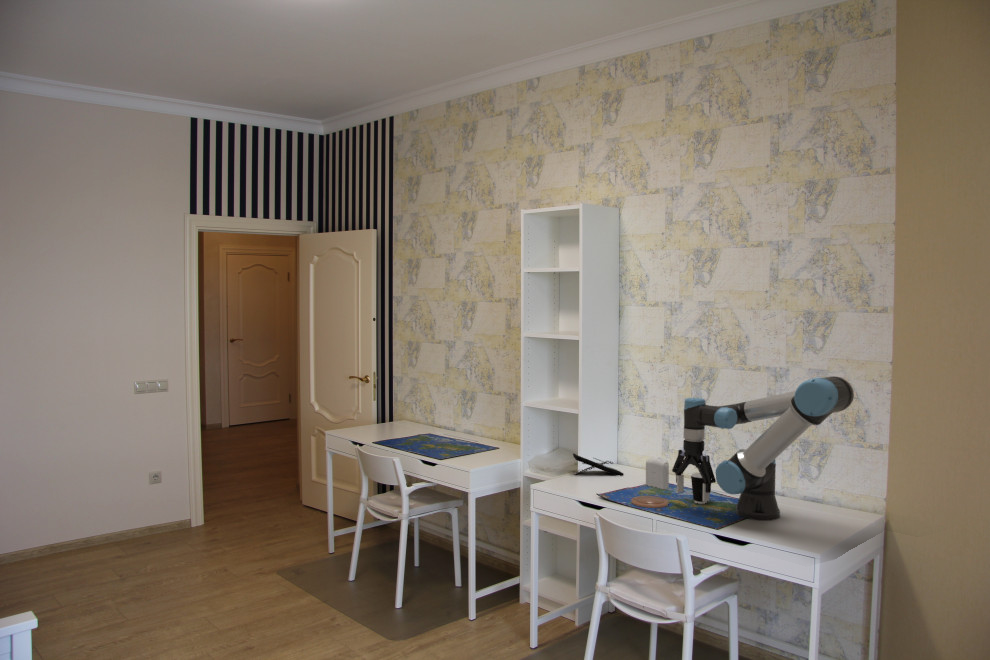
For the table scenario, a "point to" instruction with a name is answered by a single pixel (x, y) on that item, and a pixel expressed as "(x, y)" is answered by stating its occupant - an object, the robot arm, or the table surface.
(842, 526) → the table surface
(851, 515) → the table surface
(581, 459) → the black folding stand
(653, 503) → the dish
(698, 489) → the dixie cup
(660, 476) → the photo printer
